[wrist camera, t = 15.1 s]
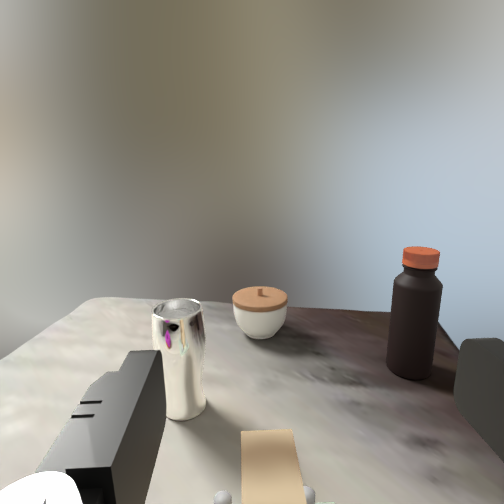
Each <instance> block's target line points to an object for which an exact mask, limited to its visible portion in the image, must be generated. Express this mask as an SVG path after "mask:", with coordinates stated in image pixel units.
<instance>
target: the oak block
mask: <svg viewBox="0 0 504 504" xmlns="http://www.w3.org/2000/svg"><path fill="white" fill-rule="evenodd" d="M241 483H242V504H307V502H306V497H305V492H304V487H303V482H302V477H301V472H300V467H299V462H298V457H297V452H296V447H295V442H294V438H293V433H292V429H281V430H258V431H241Z"/></svg>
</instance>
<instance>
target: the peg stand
mask: <svg viewBox="0 0 504 504" xmlns="http://www.w3.org/2000/svg"><path fill="white" fill-rule="evenodd" d="M303 487H304V492H305V497H306V502H307V504H335V502H324V503H315V492H314V490H313V489H312V488H311V487H308V486H303ZM214 504H232V497H231V494H230V493H229V492H228V491H225V490H222V491H219V492H217V493H216V494H215V496H214Z"/></svg>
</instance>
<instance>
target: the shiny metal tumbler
mask: <svg viewBox="0 0 504 504" xmlns="http://www.w3.org/2000/svg"><path fill="white" fill-rule="evenodd" d="M202 307H203V306H202V304H201V303H200V302H199V301H197V300H194V299H189V298H177V299H170V300H166V301H163V302H160V303H158V304H156V305H155V306H154V307H153V308H152V310H151V313H152V342H153V349H154V350H160V351H161V353H162V359H163V370H164V381H165V391H166V405H167V409H166V416H167V417H168V418H170V419H172V420H177V421H184V420H189V419H192V418H194V417H196V416H198V415H199V414H200V413H201V412H202V411H203V410H204V409H205V406H206V398H205V394H204V391H203V387H202V373H203V365H204V358H205V348H206V332H205V322H204V315H203V308H202Z"/></svg>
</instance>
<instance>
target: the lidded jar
mask: <svg viewBox="0 0 504 504" xmlns="http://www.w3.org/2000/svg"><path fill="white" fill-rule="evenodd" d="M233 308H234V316H235V319H236V322H237V324H238V326H239V327H240V329H241V330H242V331H243V332H245V334H246V335H247V336H248V337H250V338H253V339H267V338H270V337H272V336H274V335H275V333H276V332H277V331H278V330H279V329H280V328H281V326H282V325H283V323H284V320H285V317H286V311H287V295H286V293H284V292H283V291H281V290H279V289H276V288H272V287H249V288H244V289H241V290H239V291H237V292H236V293H235V294H234V295H233Z"/></svg>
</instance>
